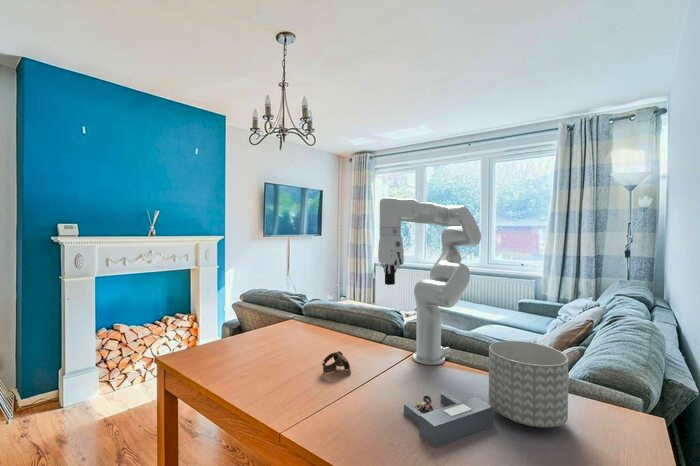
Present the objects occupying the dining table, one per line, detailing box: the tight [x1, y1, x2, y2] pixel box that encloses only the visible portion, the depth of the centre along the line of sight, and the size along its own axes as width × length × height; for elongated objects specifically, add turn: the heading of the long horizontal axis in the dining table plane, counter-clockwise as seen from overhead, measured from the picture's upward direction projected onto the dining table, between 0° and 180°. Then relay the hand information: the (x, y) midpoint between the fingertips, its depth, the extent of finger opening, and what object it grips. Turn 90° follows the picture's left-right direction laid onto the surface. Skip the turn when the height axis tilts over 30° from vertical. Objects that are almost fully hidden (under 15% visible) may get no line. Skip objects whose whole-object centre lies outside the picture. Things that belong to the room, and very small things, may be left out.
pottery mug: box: [321, 350, 352, 376], centre depth 121 cm, size 12×10×8 cm
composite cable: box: [414, 395, 434, 413], centre depth 97 cm, size 10×5×2 cm, turn 152°
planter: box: [488, 340, 569, 428], centre depth 91 cm, size 19×19×18 cm
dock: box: [403, 392, 495, 448], centre depth 90 cm, size 20×16×5 cm
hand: (389, 284), depth 119 cm, fingers closed
